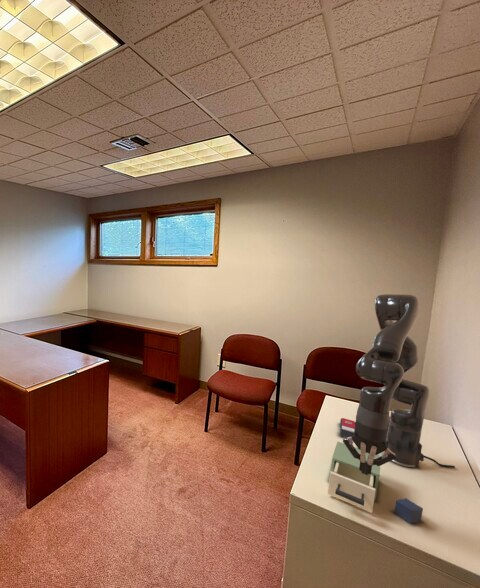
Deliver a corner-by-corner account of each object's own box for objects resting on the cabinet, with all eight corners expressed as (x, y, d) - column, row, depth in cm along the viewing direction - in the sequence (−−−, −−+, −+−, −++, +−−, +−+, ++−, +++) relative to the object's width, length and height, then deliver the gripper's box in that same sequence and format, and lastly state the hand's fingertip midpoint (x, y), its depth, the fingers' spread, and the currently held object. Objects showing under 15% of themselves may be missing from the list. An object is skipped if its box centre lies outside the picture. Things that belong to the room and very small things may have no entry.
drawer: (371, 523, 96) (374, 499, 95) (325, 502, 104) (328, 480, 103) (374, 491, 110) (377, 470, 109) (332, 474, 118) (335, 455, 117)
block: (403, 510, 103) (405, 498, 102) (420, 521, 99) (423, 508, 98) (394, 512, 102) (396, 500, 101) (410, 523, 98) (412, 511, 97)
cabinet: (375, 501, 106) (379, 474, 105) (328, 482, 115) (332, 457, 114) (377, 479, 117) (380, 455, 116) (334, 463, 126) (337, 441, 124)
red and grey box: (370, 424, 150) (372, 436, 138) (369, 433, 150) (371, 445, 138) (340, 416, 156) (340, 427, 145) (339, 425, 157) (339, 436, 145)
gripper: (401, 425, 97) (393, 477, 99) (345, 410, 105) (339, 458, 108) (402, 435, 91) (393, 490, 93) (343, 418, 100) (337, 469, 102)
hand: (364, 473), depth 100 cm, fingers closed
